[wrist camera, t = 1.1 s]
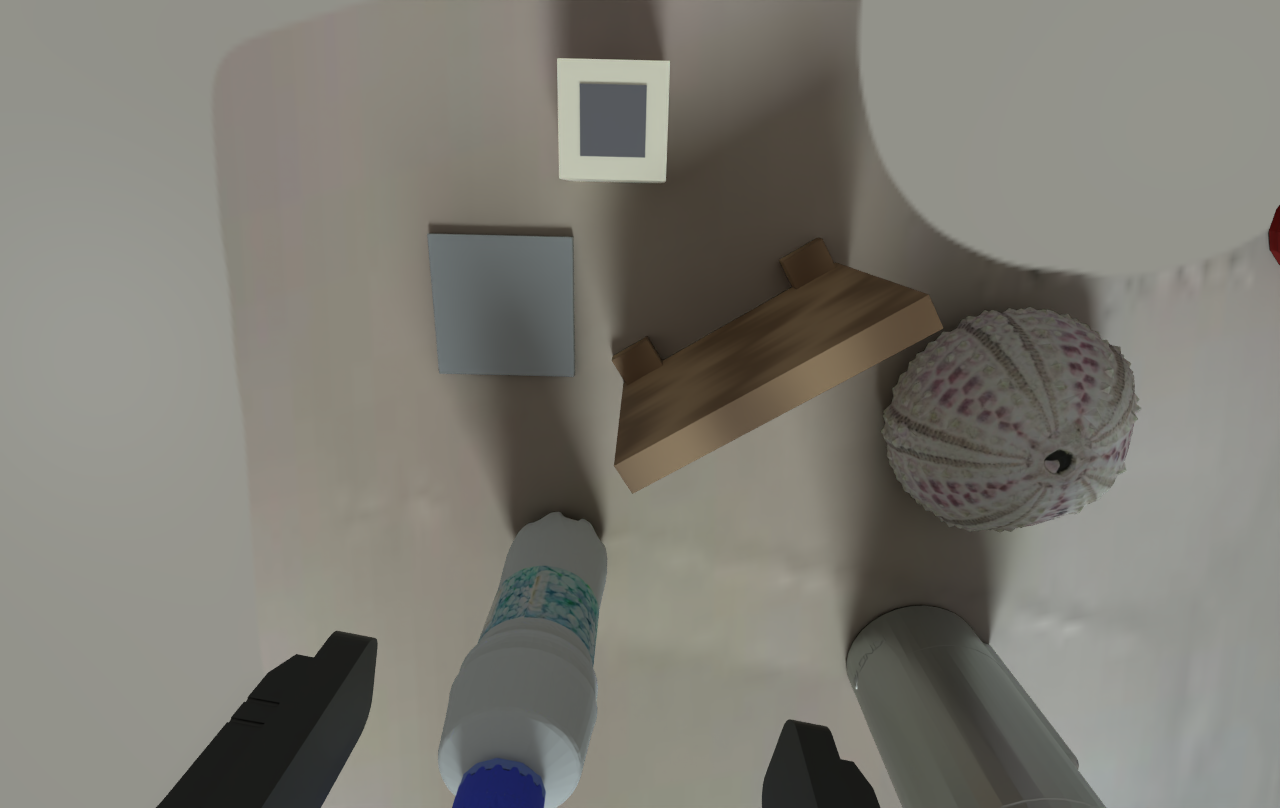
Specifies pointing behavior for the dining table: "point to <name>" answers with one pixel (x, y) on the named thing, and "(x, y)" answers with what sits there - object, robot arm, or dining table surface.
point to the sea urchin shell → (1011, 420)
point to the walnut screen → (761, 363)
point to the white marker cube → (613, 120)
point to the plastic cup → (1275, 235)
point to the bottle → (530, 675)
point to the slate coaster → (503, 304)
